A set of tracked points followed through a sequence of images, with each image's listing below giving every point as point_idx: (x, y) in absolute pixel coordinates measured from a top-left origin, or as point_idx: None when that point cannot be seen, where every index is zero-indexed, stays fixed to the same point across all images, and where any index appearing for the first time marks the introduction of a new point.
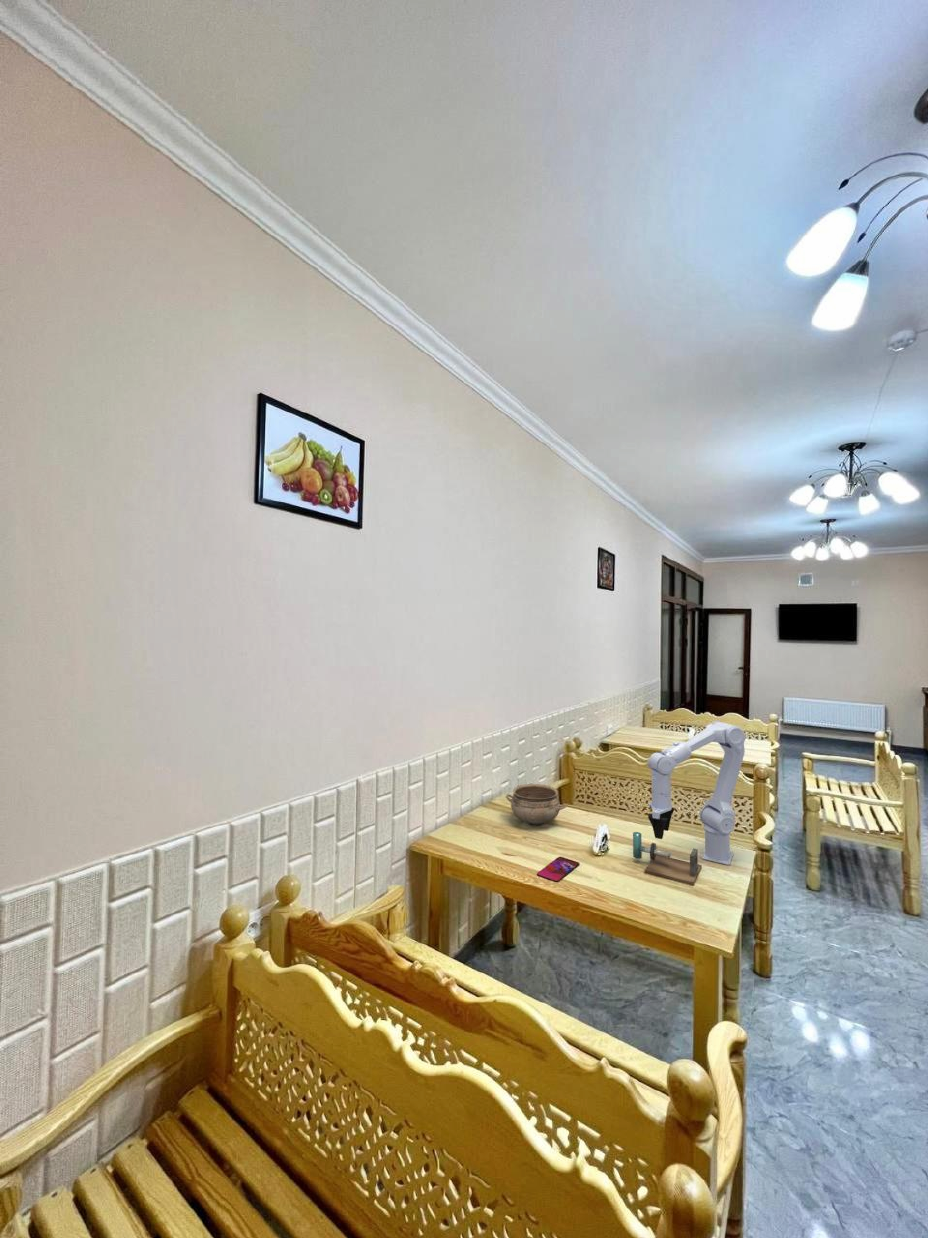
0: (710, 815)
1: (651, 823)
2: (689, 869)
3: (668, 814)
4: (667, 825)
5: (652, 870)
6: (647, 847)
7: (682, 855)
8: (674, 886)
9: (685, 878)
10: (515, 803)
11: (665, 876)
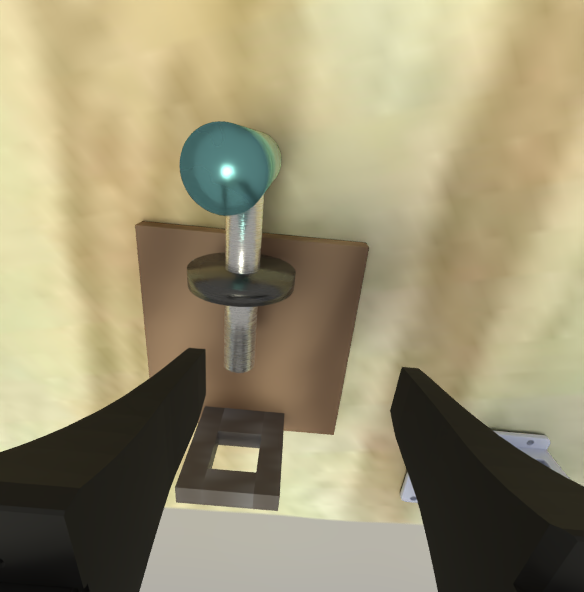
0: None
1: (63, 431)
2: (265, 401)
3: (449, 580)
4: (404, 448)
5: (155, 263)
6: (242, 243)
7: (438, 354)
8: (109, 352)
9: None
10: None
11: (146, 321)
